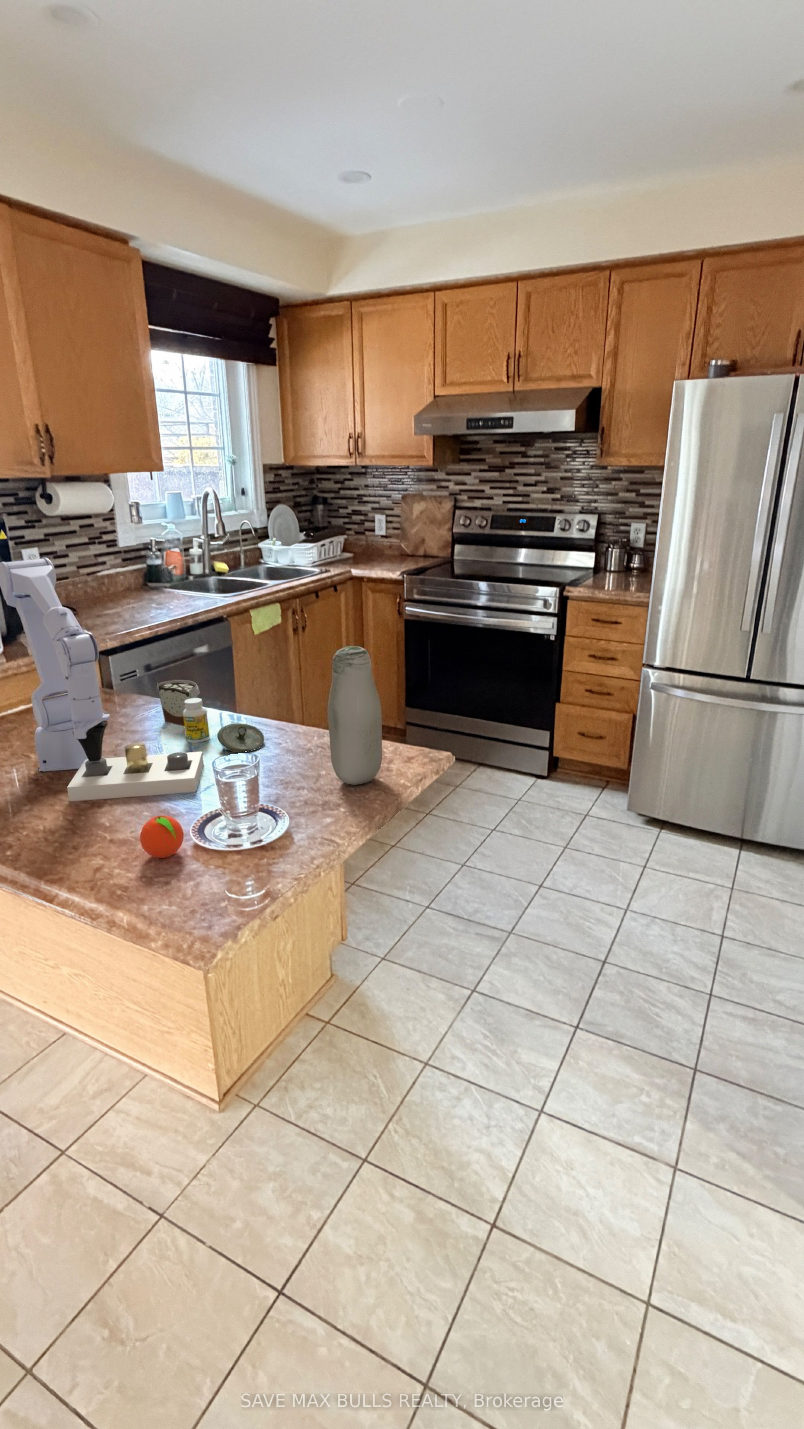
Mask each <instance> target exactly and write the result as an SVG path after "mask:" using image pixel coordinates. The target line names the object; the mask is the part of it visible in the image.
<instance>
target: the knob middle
mask: <svg viewBox="0 0 804 1429" xmlns="http://www.w3.org/2000/svg"><path fill="white" fill-rule="evenodd" d="M124 753H125V754H124V755H125V757H126V762H127V768H128V772H129V773H142V772H145V771H147V770H148V761H147V748H146V743H142V742H134V743H130V744H126V745H125V746H124Z"/></svg>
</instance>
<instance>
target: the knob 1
mask: <svg viewBox="0 0 804 1429" xmlns="http://www.w3.org/2000/svg"><path fill="white" fill-rule="evenodd" d="M104 758H105V757H101V759H100V761H89V760H88V761H86V762H85V767H86V772H87V777H93V776H107V775H108V768H107V762H106V759H104Z"/></svg>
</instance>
